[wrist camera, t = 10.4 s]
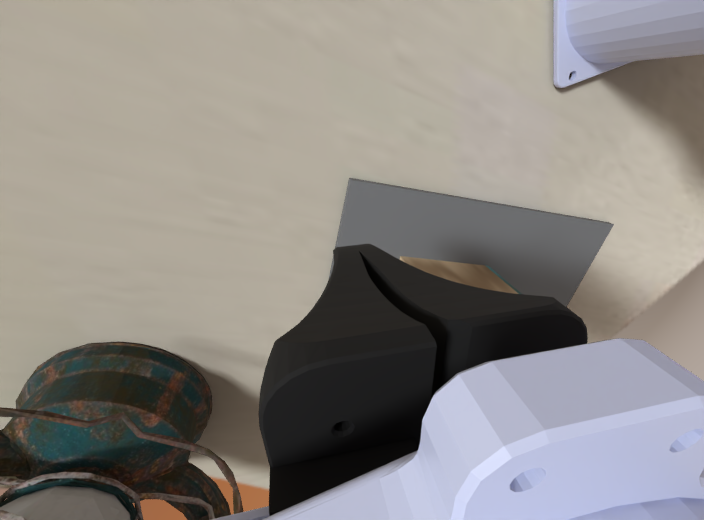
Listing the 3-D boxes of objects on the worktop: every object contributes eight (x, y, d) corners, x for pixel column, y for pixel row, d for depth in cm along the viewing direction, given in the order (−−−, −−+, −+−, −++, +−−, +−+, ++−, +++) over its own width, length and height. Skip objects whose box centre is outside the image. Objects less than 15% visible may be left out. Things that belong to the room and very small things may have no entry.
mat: (608, 222, 26) (613, 224, 26) (533, 354, 32) (537, 357, 32) (349, 177, 21) (350, 179, 20) (315, 347, 27) (315, 351, 26)
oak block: (525, 296, 22) (423, 287, 20) (499, 347, 23) (404, 344, 22) (488, 265, 26) (400, 256, 24) (468, 311, 27) (385, 306, 25)
